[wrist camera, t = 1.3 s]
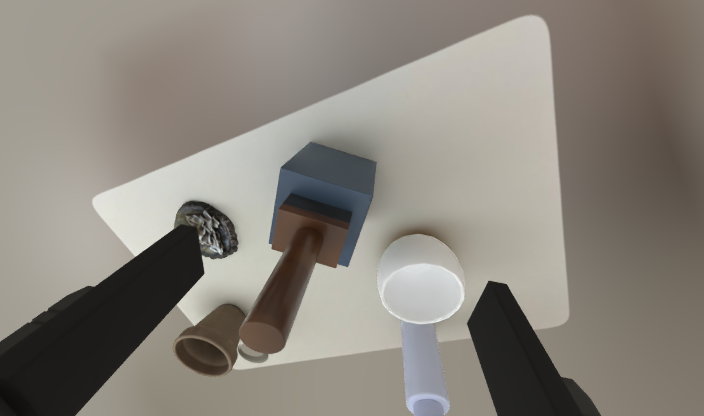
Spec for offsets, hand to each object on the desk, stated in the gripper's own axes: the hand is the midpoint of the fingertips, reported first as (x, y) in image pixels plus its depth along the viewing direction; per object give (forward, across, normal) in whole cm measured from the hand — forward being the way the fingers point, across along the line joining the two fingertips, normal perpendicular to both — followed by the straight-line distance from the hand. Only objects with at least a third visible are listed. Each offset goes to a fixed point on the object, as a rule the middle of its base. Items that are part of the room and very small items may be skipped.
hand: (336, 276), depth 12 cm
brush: (+16, -4, -7) cm, 18 cm away
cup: (+28, +11, -17) cm, 34 cm away
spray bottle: (+28, +15, -32) cm, 45 cm away
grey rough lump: (+28, -26, -20) cm, 43 cm away
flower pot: (+28, -23, -42) cm, 55 cm away
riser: (+28, -4, -7) cm, 29 cm away
